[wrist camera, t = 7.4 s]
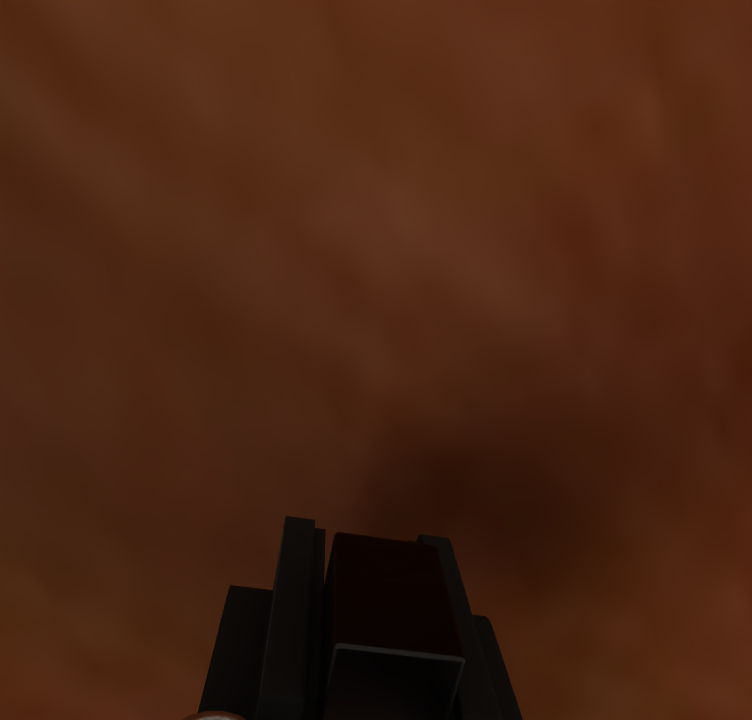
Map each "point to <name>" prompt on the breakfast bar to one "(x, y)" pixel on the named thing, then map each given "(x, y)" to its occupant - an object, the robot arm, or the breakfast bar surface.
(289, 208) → the breakfast bar surface
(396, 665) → the saucepan
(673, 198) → the breakfast bar surface
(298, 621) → the robot arm
